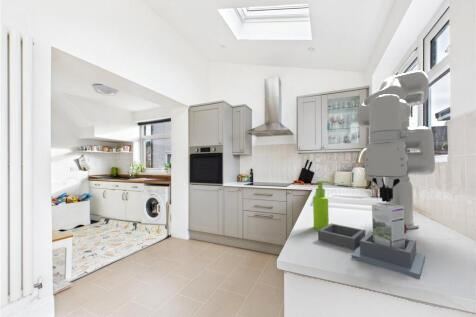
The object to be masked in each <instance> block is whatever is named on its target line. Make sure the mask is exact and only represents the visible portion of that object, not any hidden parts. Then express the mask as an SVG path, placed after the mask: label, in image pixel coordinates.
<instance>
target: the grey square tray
mask: <svg viewBox="0 0 476 317" xmlns="http://www.w3.org/2000/svg"><path fill="white" fill-rule="evenodd" d="M365 236H366V229H361V228H357V227H351V226H345V225H341V224H337V223H329V225H327V226H325V227H324V228H322V229H320V230H317V241H320V242H323V241H324V242H323V243H326V242H327V244H331V245H335V246H339V247H341V248H345V249H349V250H352V251H356V250H357V249H358V248H359V247H360V240H361V239H362V238H364V237H365Z"/></svg>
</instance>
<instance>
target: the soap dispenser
mask: <svg viewBox="0 0 476 317" xmlns="http://www.w3.org/2000/svg"><path fill="white" fill-rule="evenodd" d="M316 183H317V188H315V193H316V194H315V196H313V197H312V201H313V202H312V204H313V207H312V208H313V229H315V230H316V231H318V230H320V229H322V228H324V227H325V226H327V225H329V224H330V223H329V221H330V220H329V198H328V197H327V196H325V195H326V194H325V191H326V190H325V188H324V187H323V184H329V185H330V184H331V181H326V180H317V181H316Z"/></svg>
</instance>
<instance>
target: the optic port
mask: <svg viewBox="0 0 476 317" xmlns="http://www.w3.org/2000/svg"><path fill="white" fill-rule="evenodd" d="M350 256H351V257H350V258H351V259H353V260H357V261H360V262H362V263H365V264H369V265H373V266H376V267H380V268H384V269H387V270H390V271H393V272H395V273H400V274H403V275H405V276H409V277H414V278H415V279H416V278H417V279H421V275H422V272H423V267H424V263H425V259H426V254H425V253H421V252H417V240H415V239H410V238H405V250H403V249H399V248H394V247H390V246H386V245H381V244H377V243H373V231H369V232H368V233H367V234H365V237H364V238H362V239H361V240H360V246H359V247H358V248H356V249H355V250H354V252H352V253H351V255H350Z"/></svg>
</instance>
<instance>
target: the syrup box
mask: <svg viewBox="0 0 476 317" xmlns="http://www.w3.org/2000/svg"><path fill="white" fill-rule="evenodd" d="M371 214H372V215H371V218H372V219H371V220H372V232H373V243H377V244H381V245H386V246H390V247H394V248H399V249H403V250H405V237H406V236H405V235H406V234H404V207H403V206H400V205H394V204H388V203H386V202H376V203H372V204H371Z"/></svg>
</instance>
